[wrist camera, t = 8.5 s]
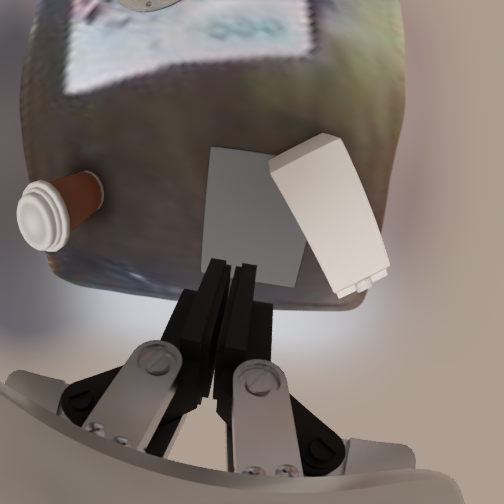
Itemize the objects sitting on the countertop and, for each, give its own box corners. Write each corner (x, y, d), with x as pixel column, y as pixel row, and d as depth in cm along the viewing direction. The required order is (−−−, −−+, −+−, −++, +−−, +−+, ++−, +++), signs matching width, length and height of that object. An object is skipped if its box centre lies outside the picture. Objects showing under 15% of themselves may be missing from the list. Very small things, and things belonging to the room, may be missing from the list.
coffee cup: (113, 223, 36) (64, 265, 25) (69, 217, 36) (19, 252, 25) (111, 162, 31) (51, 187, 21) (65, 161, 31) (7, 185, 21)
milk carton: (322, 130, 27) (378, 260, 35) (267, 159, 29) (333, 282, 37) (340, 135, 21) (397, 290, 29) (268, 171, 23) (345, 316, 30)
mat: (212, 146, 30) (210, 146, 29) (323, 164, 30) (323, 165, 29) (201, 270, 38) (201, 272, 37) (293, 285, 38) (293, 287, 37)
